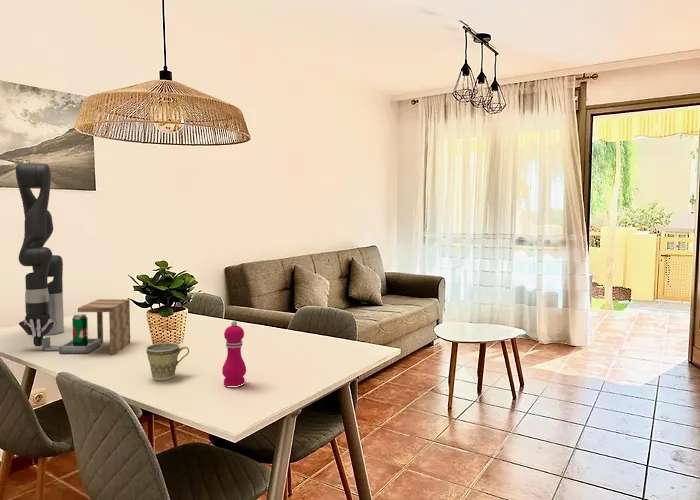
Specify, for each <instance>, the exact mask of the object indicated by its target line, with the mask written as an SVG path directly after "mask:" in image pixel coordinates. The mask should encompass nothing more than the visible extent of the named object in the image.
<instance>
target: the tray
mask: <svg viewBox="0 0 700 500" xmlns="http://www.w3.org/2000/svg"><path fill="white" fill-rule="evenodd" d="M101 345H102V344H101V339H98V338H88V345H87V346H73V339H71V340H69V341H67V342H65V343H64V344H62V345H51V337H50V336H49V337H48V336H47V337H45V338H43V340H42V345H41V351H58V353H59V354H89V353H90V352H92V351H93V350H95V349H96V348H98V347H99V346H101Z"/></svg>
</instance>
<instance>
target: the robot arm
mask: <svg viewBox="0 0 700 500" xmlns="http://www.w3.org/2000/svg"><path fill="white" fill-rule="evenodd" d="M51 173H52V172H51V169H50V166H49V165H48V164H46V163H43V162H42V163H39V162H37V163H35V162H32V163H31V162H20V163H17V165H16V166H15V177H16V182H17V187H18V191H19V193H20V197H21V202H22V207H23V213H24V232H23V233H24V237H23V241H22V245H21V248H20V251H19V253H18V262H19V264H20V265H21V266H23V267H31V268H32V271H33V272H29V273H27V274H26V275H25V278H24V279H25V293H24V303H25V317H24V319H23V320H22V321H19V322H18V325H19V326H20V327H21V328H22V330H24V332H25V333H26V334H27V335H28V336H32V337H33V338H32V339H33V345H34V346H35V347H42V340H43V339H44V336H50V335H58V334H62V333H63V332H64V331H65V326H64V325H65V322H64V315H65V314H64V290H63V289H64V287H63V286H64V285H63V283H64V281H63V275H64V274H63V273H64V272H63V271H64V270H63V269H64V263H63V261H64V260H63V258H62V256H61V255H58V254H56V255H55V254H53V251H52V250H51V248H50V247H46V246H45V244H46V242H47V241H49V239H50V237H51V236H52V234H53V232H54V224H53V223H54V222H53V217H52V213H51V212H50V211H49V210H48V207H49V203H50V202H49V201H50V191H51V186H52V185H51V184H52V174H51ZM32 188H36V189H38V188H40V189H39V194H38V195H37V197H36V196H35V194H34V193H33V191H32ZM49 278H52V280H51V281H50V282H48V279H49Z"/></svg>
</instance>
